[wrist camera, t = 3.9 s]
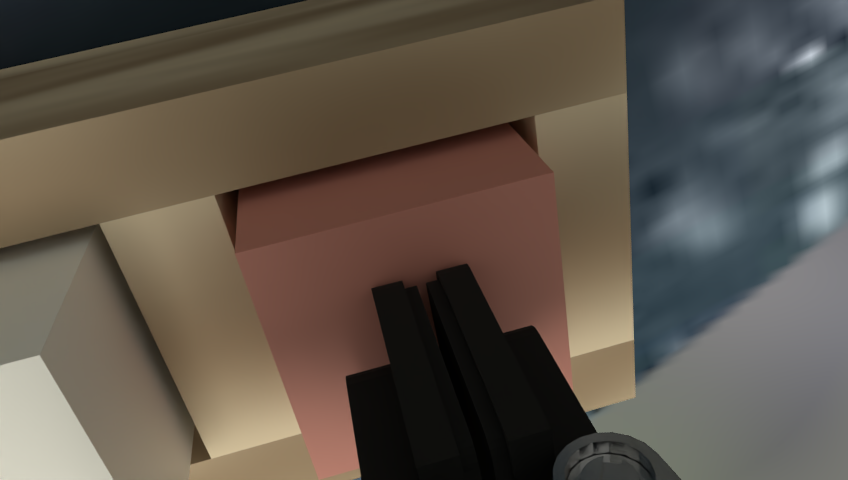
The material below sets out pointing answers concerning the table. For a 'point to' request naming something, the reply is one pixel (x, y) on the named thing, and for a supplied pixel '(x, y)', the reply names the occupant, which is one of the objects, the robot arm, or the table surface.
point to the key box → (307, 151)
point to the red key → (394, 261)
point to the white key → (82, 370)
